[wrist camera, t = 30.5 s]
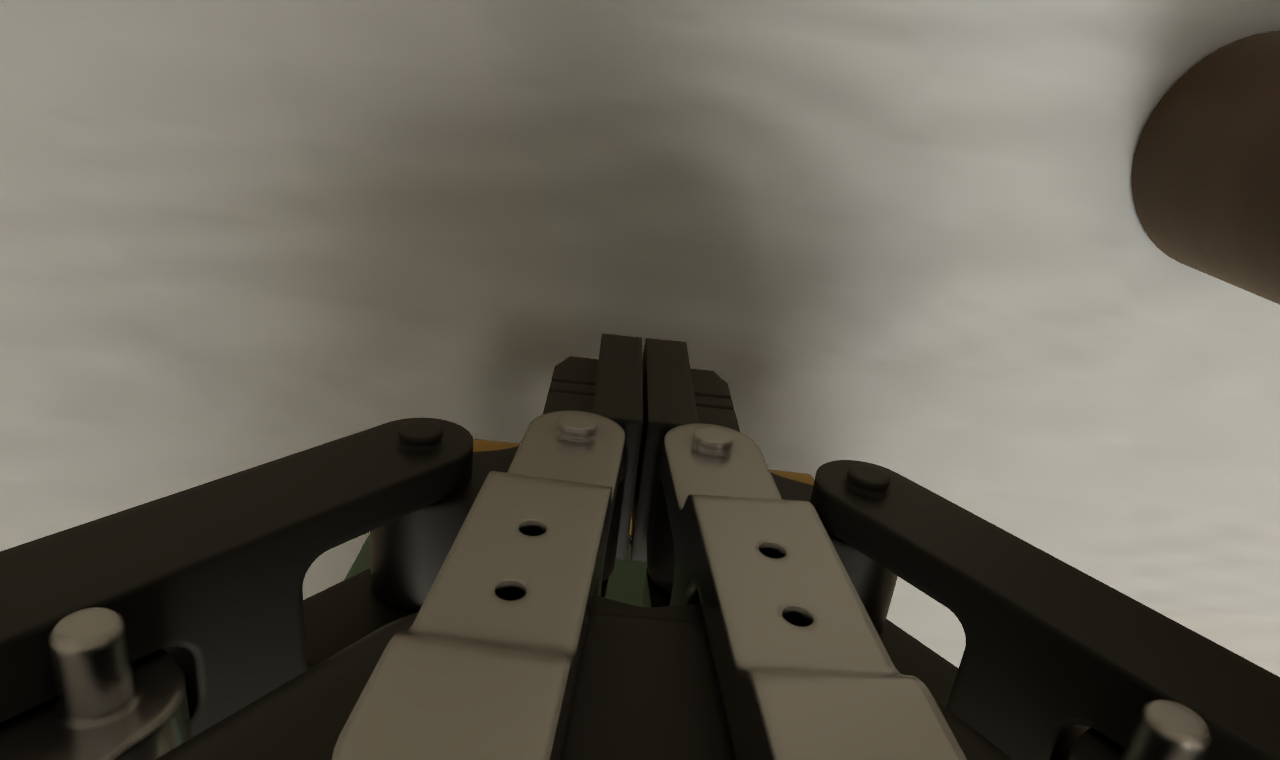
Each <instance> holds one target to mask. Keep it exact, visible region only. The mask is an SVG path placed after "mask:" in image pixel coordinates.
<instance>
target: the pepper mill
mask: <svg viewBox="0 0 1280 760" xmlns="http://www.w3.org/2000/svg"><path fill="white" fill-rule="evenodd" d="M1132 188H1133V197H1134V203H1135V207H1136V211H1137V215H1138V217H1139V219H1140V222H1141V224H1142V226H1143V228H1144V230H1145V231H1146V233H1147V235H1148V236H1149V238H1150V239H1151V240H1152V241H1153V242H1154V244H1155V245H1156V246H1157V247H1158V248H1159V249H1160V250H1162V251H1163V252H1164V253H1165V254H1167V255H1168V256H1169V257H1171V258H1173V259H1175V260H1176V261H1178V262H1180V263H1182V264H1185V265H1187V266H1189V267H1192V268H1194V269H1196V270H1199V271H1201V272H1204V273H1206V274H1208V275H1211V276H1213V277H1215V278H1218V279H1220V280H1223V281H1225V282H1227V283H1230V284H1232V285H1235V286H1237V287H1239V288H1242V289H1244V290H1246V291H1249V292H1251V293H1254V294H1256V295H1258V296H1261V297H1263V298H1265V299H1268V300H1270V301H1273V302H1275V303H1277V304H1280V31H1272V32H1267V33H1262V34H1257V35H1253V36H1250V37H1247V38H1244V39H1241V40H1238V41H1236V42H1234V43H1231V44H1229V45H1227V46H1225V47H1223V48H1221V49H1219V50H1218V51H1216V52H1214V53H1213V54H1211V55H1209V56H1208V57H1206V58H1205V59H1203V60H1202V61H1201V62H1199V63H1198V64H1197V65H1195V66H1194V67H1193V68H1191V69H1190V70H1189V71H1188V72H1187V73H1186V74H1185V75H1184V76H1183V77H1182V78H1181V79H1179V80H1178V81H1177V82H1176V83H1175V85H1174V86H1173V87H1172V88H1171V89H1170V90H1169V92H1168V93H1167V94H1166V95H1165V96H1164V98H1163V99H1162V101H1161V102H1160V103H1159V105H1158V106H1157V108H1156V109H1155V111H1154V112H1153V114H1152V116H1151V118H1150V120H1149V121H1148V123H1147V125H1146V127H1145V130H1144V132H1143V135H1142V137H1141V139H1140V142H1139V146H1138V149H1137V152H1136V156H1135V162H1134V168H1133V182H1132Z"/></svg>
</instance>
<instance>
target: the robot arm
mask: <svg viewBox="0 0 1280 760" xmlns="http://www.w3.org/2000/svg"><path fill="white" fill-rule="evenodd" d="M631 516H632V521H631ZM630 524H631V561H640V562H647V571H646V578H645V586H644V593H643V604H644V607H639V606H634V605H631V604H627V603H623V602H619V601H615V600H611V599H608V598H607V590H608V581H609V576H610V575H611V574H612V572H613V570H614V567H615V560H626V557H627V549H628V540H629V532H630ZM367 532H370V553H371V568H369V569H367V570H365V571H363V572H361V573H359V574H357V575H355V576H353V577H351V578H349V579H347V580H344V581H342V582H340V583H338V584H336V585H334V586H332V587H330V588H328V589H326V590H324V591H322V592H319V593H317V594H315V595H313V596H311V597H309V598H307V599H305V600H303V591H302V585H303V580H304V577H305V574H306V572H307V570H308V568H309V567H310V565H311V564H312V563H313V562H314V561H315V559H316V558H318V557H319V556H320V555H321V554H322V553H324V552H325V551H327V550H329V549H331V548H333V547H336V546H338V545H340V544H343V543H345V542H347V541H349V540H352V539H354V538H356V537H358V536H361V535H363V534H365V533H367ZM897 576H899V577H900V578H902V579H903V580H905V581H907V582H908V583H910V584H911V585H913V586H914V587H916V588H918V589H919V590H921V591H922V592H924V593H925V594H927V595H929V596H930V597H932V598H933V599H935V600H936V601H938V602H940V603H941V604H943V605H944V606H946V607H947V608H948V609H950V610H951V611H952V612H953V613H954V614H955V615H956V616H957V618H958V619H959V621H960V622H961V624H962V626H963V628H964V632H965V636H966V647H965V651H964V654H963V657H962V660H961V663H960V666H959V669H958V668H957V667H955V666H954V665H953V664H951V663H950V662H948V661H947V660H945V659H944V658H942V657H941V656H939V655H938V654H937V653H935V652H934V651H932V650H931V649H929V648H928V647H926V646H925V645H923V644H922V643H921V642H919V641H918V640H916V639H915V638H913V637H912V636H910V635H909V634H907V633H906V632H905V631H903V630H902V629H900V628H899V627H897V626H896V625H894V624H893V623H892V622H890V621H889V620H887V619H886V616H887V613H888V609H889V606H890V602H891V598H892V595H893V591H894V587H895V584H896V580H897ZM0 760H1280V677H1278V676H1276V675H1274V674H1273V673H1271V672H1269V671H1267V670H1265V669H1263V668H1261V667H1259V666H1258V665H1256V664H1254V663H1252V662H1250V661H1248V660H1246V659H1244V658H1243V657H1241V656H1239V655H1237V654H1235V653H1233V652H1231V651H1229V650H1228V649H1226V648H1224V647H1222V646H1220V645H1218V644H1216V643H1214V642H1213V641H1211V640H1209V639H1207V638H1205V637H1203V636H1201V635H1199V634H1198V633H1196V632H1194V631H1192V630H1190V629H1188V628H1186V627H1184V626H1183V625H1181V624H1179V623H1177V622H1175V621H1173V620H1171V619H1169V618H1168V617H1166V616H1164V615H1162V614H1160V613H1158V612H1156V611H1154V610H1153V609H1151V608H1149V607H1147V606H1145V605H1143V604H1141V603H1139V602H1138V601H1136V600H1134V599H1132V598H1130V597H1128V596H1126V595H1124V594H1123V593H1121V592H1119V591H1117V590H1115V589H1113V588H1111V587H1109V586H1108V585H1106V584H1104V583H1102V582H1100V581H1098V580H1096V579H1094V578H1093V577H1091V576H1089V575H1087V574H1085V573H1083V572H1081V571H1079V570H1078V569H1076V568H1074V567H1072V566H1070V565H1068V564H1066V563H1064V562H1063V561H1061V560H1059V559H1057V558H1055V557H1053V556H1051V555H1049V554H1048V553H1046V552H1044V551H1042V550H1040V549H1038V548H1036V547H1034V546H1033V545H1031V544H1029V543H1027V542H1025V541H1023V540H1021V539H1019V538H1018V537H1016V536H1014V535H1012V534H1010V533H1008V532H1006V531H1004V530H1003V529H1001V528H999V527H997V526H995V525H993V524H991V523H989V522H988V521H986V520H984V519H982V518H980V517H978V516H976V515H974V514H973V513H971V512H969V511H967V510H965V509H963V508H961V507H959V506H958V505H956V504H954V503H952V502H950V501H948V500H946V499H944V498H943V497H941V496H939V495H937V494H935V493H933V492H931V491H929V490H928V489H926V488H924V487H922V486H920V485H918V484H916V483H914V482H913V481H911V480H909V479H907V478H905V477H903V476H901V475H900V474H898V473H896V472H894V471H891V470H889V469H887V468H884V467H881V466H878V465H875V464H871V463H867V462H861V461H852V460H839V461H832V462H828V463H826V464H823V465H822V466H820V467H819V468H818V470H817V472H816V476H815V481H814V485H811V484H807V483H803V482H799V481H795V480H792V479H788V478H785V477H782V476H779V475H776V474H774V473H772V472H770V471H769V468H768V466H767V464H766V462H765V459H764V457H763V455H762V453H761V451H760V448H759V447H758V445H757V444H756V443H755V441H754V440H752V439H751V438H750V437H748V436H746V435H745V434H743V433H741V432H740V430H739V426H738V422H737V418H736V414H735V410H734V406H733V402H732V399H731V394H730V391H729V387H728V383H726V382H725V381H724V380H723V379H722V378H721V377H720V376H718V375H717V374H716V373H715V372H714V371H709V370H699V369H690V363H689V356H688V350H687V344H686V342H681V341H672V340H662V339H652V338H646V339H645V345H644V352H643V360H642V337H632V336H622V335H613V334H603V333H602V338H601V346H600V354H599V359H590V358H580V357H568V358H567V359H565V360H564V361H562V362H561V363H559V364H558V365H556V366H555V368H554V372H553V376H552V381H551V384H550V388H549V392H548V396H547V400H546V404H545V408H544V412H543V415H541V416H539V417H537V418H535V419H534V420H533V421H531V423H530V424H529V426H528V428H527V430H526V432H525V435H524V437H523V439H522V441H521V443H520V445H518V446H515V447H512V448H507V449H502V450H493V451H479V452H473V437H472V435H471V434H470V432H469V431H468V430H466V429H465V428H463V427H462V426H460V425H458V424H455V423H453V422H449V421H446V420H441V419H434V418H408V419H401V420H396V421H392V422H389V423H386V424H383V425H380V426H377V427H374V428H371V429H368V430H365V431H362V432H359V433H356V434H353V435H350V436H347V437H344V438H341V439H338V440H335V441H332V442H328V443H325V444H322V445H319V446H316V447H313V448H310V449H307V450H304V451H301V452H298V453H295V454H292V455H289V456H286V457H283V458H280V459H277V460H274V461H271V462H268V463H265V464H262V465H259V466H256V467H253V468H250V469H247V470H244V471H241V472H238V473H235V474H232V475H229V476H226V477H223V478H220V479H217V480H214V481H211V482H208V483H205V484H202V485H199V486H196V487H193V488H190V489H187V490H184V491H181V492H178V493H175V494H172V495H169V496H166V497H163V498H160V499H157V500H154V501H151V502H148V503H145V504H142V505H139V506H136V507H133V508H130V509H127V510H124V511H121V512H118V513H115V514H112V515H109V516H106V517H103V518H100V519H97V520H94V521H91V522H88V523H85V524H82V525H79V526H76V527H73V528H70V529H67V530H64V531H61V532H58V533H55V534H52V535H49V536H46V537H43V538H40V539H37V540H34V541H31V542H28V543H25V544H22V545H19V546H16V547H13V548H10V549H7V550H4V551H1V552H0Z"/></svg>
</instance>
